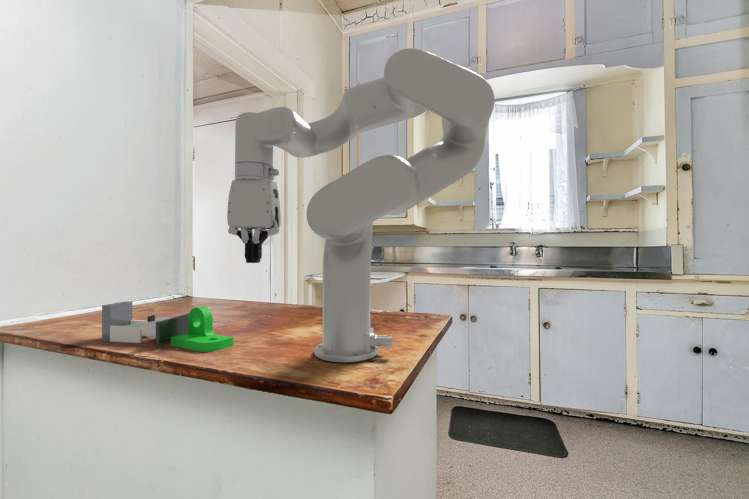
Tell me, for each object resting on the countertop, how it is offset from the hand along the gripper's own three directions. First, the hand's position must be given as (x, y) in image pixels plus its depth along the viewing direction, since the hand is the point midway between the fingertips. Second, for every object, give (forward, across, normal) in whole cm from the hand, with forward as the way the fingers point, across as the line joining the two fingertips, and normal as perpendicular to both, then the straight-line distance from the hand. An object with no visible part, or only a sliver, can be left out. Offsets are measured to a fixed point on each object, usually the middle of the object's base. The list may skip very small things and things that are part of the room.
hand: (253, 262), depth 72 cm
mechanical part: (+18, +12, 0) cm, 22 cm away
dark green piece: (+17, +22, -1) cm, 28 cm away
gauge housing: (+18, +31, -3) cm, 36 cm away
